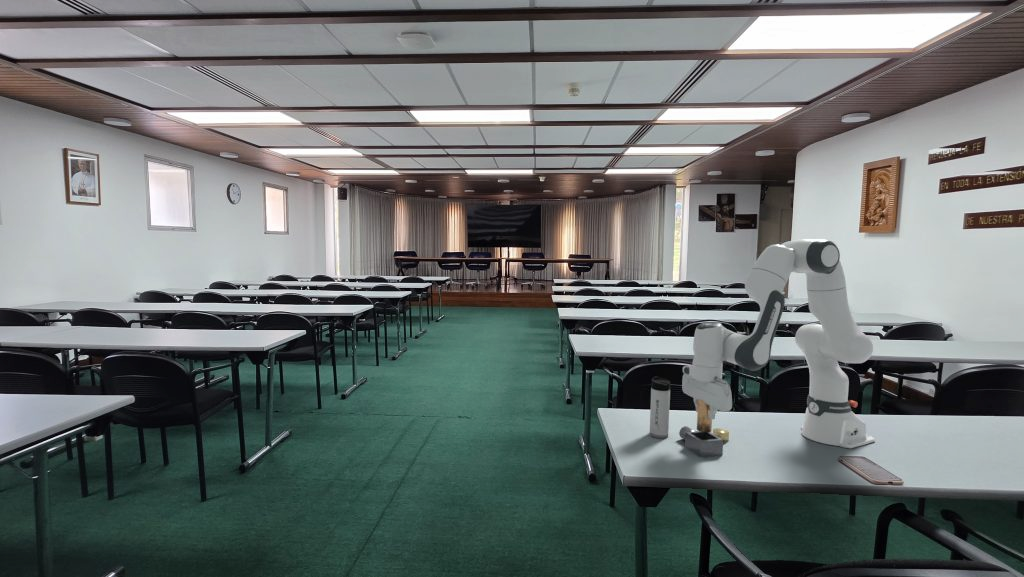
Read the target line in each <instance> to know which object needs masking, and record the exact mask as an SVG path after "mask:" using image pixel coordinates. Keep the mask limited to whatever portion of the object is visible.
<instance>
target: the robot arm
mask: <svg viewBox="0 0 1024 577" xmlns="http://www.w3.org/2000/svg"><path fill="white" fill-rule="evenodd" d="M840 257H841V254H840V249H839V248H838V246H837V244H836V243H834V242H833V241H830V240H828V239H822V238H818V239H815V238H814V239H812V238H805V239H803V238H801V239H796V240H790V241H789V240H785V241H781V242H778V243H776V244H770V245H769V246H767V247H766V248H765V249H764V250H763V251H762V253H760V255H759V256H758V258H757V260H755V261H754V264H753V266H752V267H751V269H750V271H749V273H748V274H747V277H746V279H745V283H744V289H745V292H746V294H747V295H748V296H749V298H750V299H751V300H753V301H754V302H756V303H757V304H758V305H759V308H760V309H759V314H758V316H757V319H756V322H755V326H754V328H753V330H752V332H751V333H750V334H749V335H745V334H742V333H738V332H734V331H732V330H730V329H729V328H728V329H727V328H726V327H725V326H723V324H722V323H721V322H717V321H707V322H702V323H700V324H698V325H697V326H696V328H695V330H694V335H693V336H694V337H693V344H692V350H693V359H692V365H687V366H686V365H685V366H683V367H682V373H683V375H682V380H681V383H682V384H681V388H682V389H681V390H682V392H683V394H685V395H687V396H689V397H691V398H693V403H694V406H695V412H696V413H697V411H698V399H700V400H702V401H704V403H705V404H707V405H710V409H711V410H710V412H709V413H707V418H709V419H711V420H712V421H713V420H715V419H716V414H717V412H718V411H720V412H729V411H731V409H732V408H733V398H732V397H733V396H732V390H731V386H730V385H729V382H728V381H727V379H723V362H724V361H725V362H728V363H731V364H733V365H737V366H739V367H741V368H743V369H745V370H747V371H751V372H754V371H758V370H760V369H762V368H764V367H765V366H766V365H767V364H768V362H769V361H770V359H771V358H770V357H771V354H772V346H773V341H774V339H775V335H776V333H777V330H778V327H779V324H780V321H781V318H782V315H783V312H784V308H785V303H786V301H785V296H784V289H785V286H786V285H787V282H788V280H789V278H790V276H791V274H792V273H796V274H805V276H806V291H807V292H806V293H807V301H808V310H809V313H811V314H812V316H814V317H815V318H816V320H817V321H818V322H819V323H811V324H810V323H809V324H803V325H802V326H800V327H799V328H798V329H797V331H796V332H795V337H794V339H795V340H794V341H795V343H796V345H797V347H798V348H799V350H801V352H802V354H803V355H804V357H805V360H806V363H807V366H808V369H809V370H808V371H809V389H808V390H809V392H808V393H809V394H808V395H807V398H806V405H807V407H806V410H805V414H804V420H803V424H802V425H801V427H800V428H801V432H800V433H801V434H802V436H804V437H805V438H807V439H808V440H811V441H814V442H817V443H821V444H824V445H830V446H836V447H837V446H838V447H841V448H846V449H853V448H858V447H860V446H865V445H868V444H870V443H874V442H875V438H874V437H873V436H871V435H869V434H868V433H867V425H866V423H865V421H864V420H863V419H861V418H860V417H859V416H858V415H856V414H855V413H854V412H853V411H852V408H851V407H853V408H857V407H858V401H855V400H852V399H851V400H849V399H848V397H849V387H850V386H849V385H850V384H849V383H850V381H849V377H848V375H847V373H845V371H843V370H842V368H841V367H840V365H839V362H840V363H844V364H845V363H846V364H863V363H865V362H866V361H868V360H869V359H870V358H871V356H872V354H873V351H874V344H873V342H872V340H871V338H870V337H868V336H867V335H866V334H865V333H864V332H863V331H862V330H861V329H860V327H859V326H858V324H857V323H856V320H855V319H854V317H853V315H852V313H851V310H850V308H849V307H850V306H849V300H848V293H847V283H846V282H847V281H846V276H845V272H844V268H843V266H842V263H841V261H840Z"/></svg>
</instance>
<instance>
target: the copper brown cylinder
mask: <svg viewBox="0 0 1024 577" xmlns="http://www.w3.org/2000/svg"><path fill="white" fill-rule="evenodd" d="M710 410H711V409H710V405H707V404H705V403H704V401H702V400H700V399H698V411H697V412H696V413H697V414H696V431H701V432H711V433H712V431H713V428H712V427H713V426H712V425H713V419H712V420H711V419H709V418H707V413H709V412H710Z"/></svg>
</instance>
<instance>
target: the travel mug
mask: <svg viewBox="0 0 1024 577" xmlns="http://www.w3.org/2000/svg"><path fill="white" fill-rule="evenodd" d="M650 388H651V389H650V412H649V414H650V415H649V435H650V436H651V437H652V438H656V439H667V438H668V437H669V430H670V429H669V428H670V426H669V424H670V405H671V404H670V402H671V401H670V400H671V381H670V380H669V379H666V378H663V377H659V376H653V377H652V378H651V386H650Z"/></svg>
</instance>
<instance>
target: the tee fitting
mask: <svg viewBox="0 0 1024 577" xmlns="http://www.w3.org/2000/svg"><path fill="white" fill-rule="evenodd" d="M678 434H679V437H680V438H681V439H682V440H684V441H685V443H684V447H685V449H687V450H689V451H690V452H692V453H693V454H695V455H696V456H698V457H699V458H706V457H707V458H708V457H716V456H723V452H724V450H723V448H724V442H723V439H721V438H719V437H718V436H716V435H714V434H713V432H712V431H711V432H701V431H698V430H694V429H692V428H690V427H689V426H686V425H685V426H683V427H681V428H680V429H679V433H678Z"/></svg>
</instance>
